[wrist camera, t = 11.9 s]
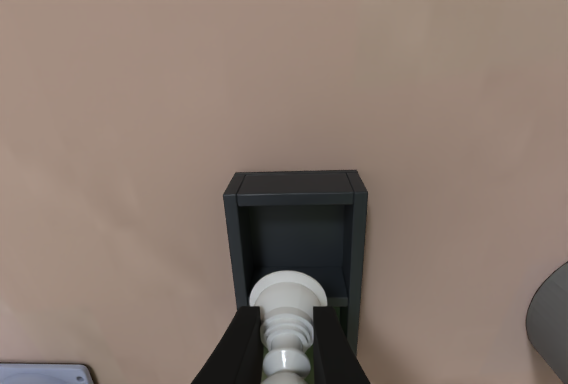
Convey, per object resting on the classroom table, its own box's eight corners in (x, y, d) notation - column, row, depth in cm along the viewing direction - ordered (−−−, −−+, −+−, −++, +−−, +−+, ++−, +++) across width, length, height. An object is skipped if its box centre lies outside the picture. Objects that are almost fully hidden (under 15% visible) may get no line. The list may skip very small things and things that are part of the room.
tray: (356, 169, 16) (368, 191, 13) (347, 341, 20) (354, 384, 18) (235, 172, 16) (222, 194, 13) (252, 341, 21) (245, 382, 18)
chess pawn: (240, 313, 12) (203, 470, 7) (266, 256, 11) (242, 398, 6) (308, 336, 12) (312, 500, 8) (339, 283, 11) (367, 437, 7)
